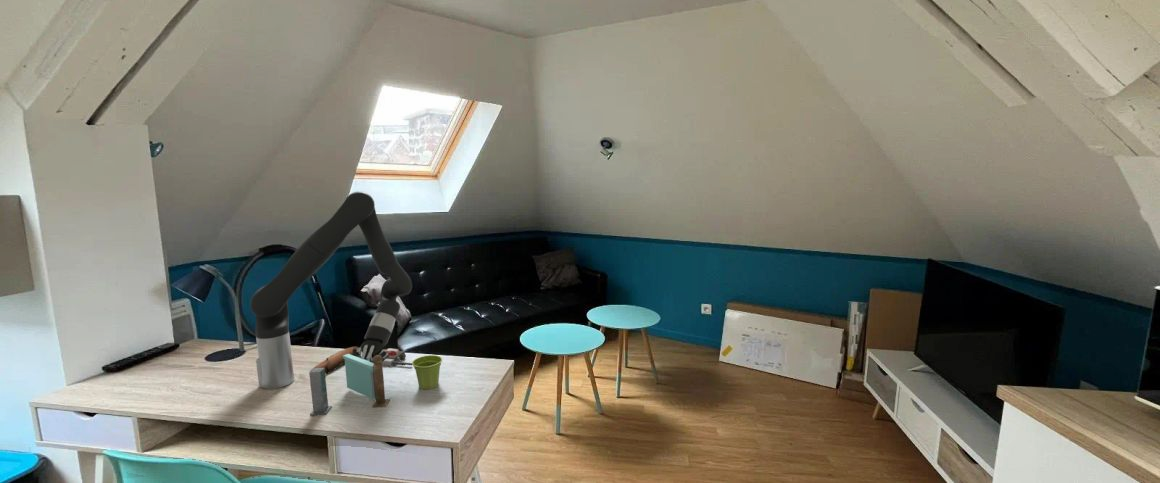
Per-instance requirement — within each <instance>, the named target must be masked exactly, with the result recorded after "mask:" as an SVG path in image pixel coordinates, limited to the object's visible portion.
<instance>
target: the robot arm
mask: <svg viewBox="0 0 1160 483" xmlns="http://www.w3.org/2000/svg"><path fill="white" fill-rule="evenodd" d="M375 205H376V204H375V200H374V198H373V196H371V195H370V194H369V193H367V192H366V191H358V190H357V191H354V192H352V193H350V194H349V195H347V196H346V198H345V200H344V201H343V203H342V204H341V205H340V207H339V208H338V209H337V211H336V212H335V213H334V214H333V215H332V217H331V218H330V219H328V220H327V221H326V222H324V224H323V225H321V226H320V227H318V229H316V230H315V231H314V232H313V233H311V234H310V236H308V237H307V238H306V240H304V242H303V243H302V244H300V246H299V247H297V249H296V250H295V251H294V252H293V254H292V255H291V256H290V258H288V260H287V262H286V263H285V265H284V266H283V267H282V268H281V270H280V271H279V272H278V273H277V275H275V276H274V277H273V279H272V280H270V281H269V282H268V283H266V285H263V286H261V287H260V288H258V289H257V290H256V291H255V293H254V294H253V295H252V297H251V299H250V304H249V307H250V310H251V312H252V313H253V315H254V316H255V329H254V330H255V339H256V340H255V341H256V347H257V359H256V360H255V364H256V371H257V372H256V373H257V380H258V387H259V388H263V389H266V390H267V389H268V390H269V389H271V390H274V389H278V388H279V389H280V388H283V387H286V386H288V385H290V384H292V383H293V382H294V381H295V373H294V372H295V371H294V365H293V355H292V346H291V337H290V336H291V335H290V329H289V328H290V327H289V322H290V320H289V319H290V318H289V317H290V316H289V307H288V301H289V299H291V297H292V295H294V293H295V292H296V291H297V290H298V288H300V287H301V286H302V285H303V284H304V283H305V282H306V281H308V280H309V279H310V278H312V276H313V275H314V274H315V273H317V272H318V270H320V269H321V268H322V267H323V266H324V264H326V263H327V261H329V259H331V257H332V256H333V255H334V254H335V252H336V251H337V250H338V249H339V247H340V246H341V245H342V243H343V242H344V241H345V239H346V238H347V237H348V235H349V234H350V233H351V232H352V231H353V230H354V229H355V228H356V227H357V226H358V227H359V228H360V231H361V232H362V235H363V237H364V239H365V242H366V243H367V247H368V251H369V252H370V255H371V257H372V260H373V262H374V264H375V266H376V269H377V270H378V272H379V273H380V274H381V275H384V276H385V275H386V276H387V277H388V279H386V280H385V281H384V282H383V284H382V286H381V290H380V295H379V296H380V297H379V304H378V306H377V308H376V311H375V313H374V315H373V316H372V318H371V321H370V323H369V325H368V328H367V329H366V330H367V331H366V332H365V335H364V337H363V338H364V340H363V342H362V344H361V345H360V347H358V349H353V355H354V356H356V357H358V358H361V359H364V360H366V361H369V362H372V363H373V357H374V356H376V355H380V356H382V358H383V361H384V360H385V359H386V358H387V357H389V354H388V353H387V352H386V351H385V350H386V346H387V345H388V342H389V339H390V337H391V336H392V333H393V331H394V330H393V329H394V327H395V324H396V323H395V322H396V320H397V317H398V314H399V312H400V308H401V305H400V303H399V302H398V301H397V298H398V297H404V296H407V295H409V294H410V293H411V292H412V288H413V284H412V283H413V282H412V280H411V277H410V276H409V274H408V273H407V271H405V270H404V268H403V267H402V266H401V265H400V263H399V262H398V260H397V257H396V255H395V252H394V251H393V248H392V246H391V244H390V243H389V241H388V239H387V237H386V235H385V233H384V231H383V229H382V226H381V224H380V222H379V219H378V218H379V217H378V215H377V212H376V208H375ZM383 361H382V362H383Z"/></svg>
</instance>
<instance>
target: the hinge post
mask: <svg viewBox="0 0 1160 483" xmlns="http://www.w3.org/2000/svg"><path fill="white" fill-rule="evenodd" d="M382 361H383V358H382V356H380V355H376V356H374V357H373V363H374V375H375V387H376V399H377V400H374V403H373V404H372V409H375V408H377V409H378V408H379V409H380V408H386V407H388V404H389V403H390V401H391V398H386V394H385V393H386V391H385V382H384V381H385V380H384V367H383V366H384V365H382Z"/></svg>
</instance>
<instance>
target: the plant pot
mask: <svg viewBox="0 0 1160 483" xmlns="http://www.w3.org/2000/svg"><path fill="white" fill-rule="evenodd" d="M442 361H443V357H441V356H439V355H437V354H436V355H435V354H430V355H423V356H420V357H416V358H415V359H413V361H412V362H411V363H412V365H411V366H413V368H414V370H415V374H416V378H417V384H418V388H420V390H431V389H435V388H437V387H438V385H439V382H440V381H439V380H440V369H441V364H442Z"/></svg>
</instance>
